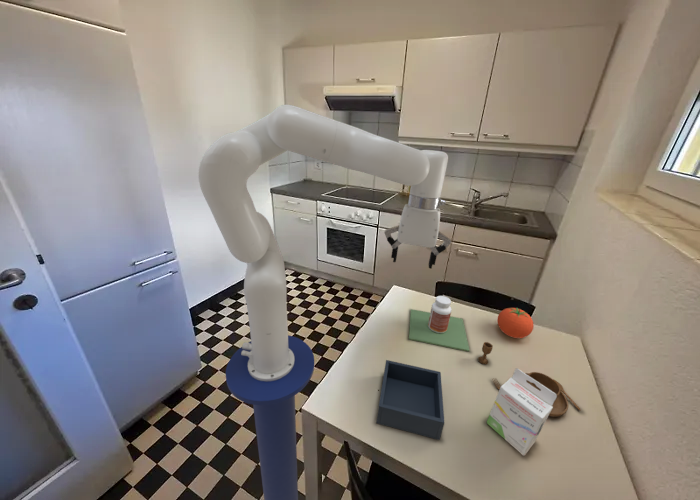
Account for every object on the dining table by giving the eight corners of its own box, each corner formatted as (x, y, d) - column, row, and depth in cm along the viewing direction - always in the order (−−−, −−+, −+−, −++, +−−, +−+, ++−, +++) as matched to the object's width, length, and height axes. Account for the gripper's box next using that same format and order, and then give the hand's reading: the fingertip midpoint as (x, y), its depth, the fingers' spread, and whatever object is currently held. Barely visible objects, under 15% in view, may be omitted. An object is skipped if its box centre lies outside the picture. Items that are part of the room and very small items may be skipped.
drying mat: (408, 339, 87) (409, 338, 87) (410, 310, 102) (410, 309, 101) (469, 351, 84) (469, 350, 83) (462, 319, 98) (462, 318, 98)
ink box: (484, 423, 63) (502, 375, 57) (496, 412, 66) (514, 365, 60) (524, 457, 57) (549, 407, 51) (535, 444, 59) (560, 395, 54)
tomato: (526, 330, 95) (536, 305, 91) (530, 349, 86) (540, 323, 82) (493, 320, 99) (501, 296, 95) (494, 338, 90) (502, 312, 86)
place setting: (522, 423, 64) (530, 405, 61) (474, 357, 82) (478, 341, 79) (587, 415, 66) (597, 398, 64) (526, 353, 84) (533, 338, 82)
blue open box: (376, 423, 62) (378, 406, 59) (383, 375, 74) (386, 359, 72) (439, 440, 59) (444, 422, 57) (436, 387, 71) (440, 371, 69)
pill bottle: (450, 333, 90) (457, 304, 86) (433, 335, 89) (440, 306, 84) (440, 321, 96) (447, 293, 91) (424, 322, 94) (430, 295, 90)
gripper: (457, 203, 72) (443, 263, 78) (390, 195, 75) (382, 253, 82) (461, 210, 65) (445, 275, 72) (387, 200, 68) (379, 263, 75)
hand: (412, 263), depth 77 cm, fingers open, 9 cm apart
